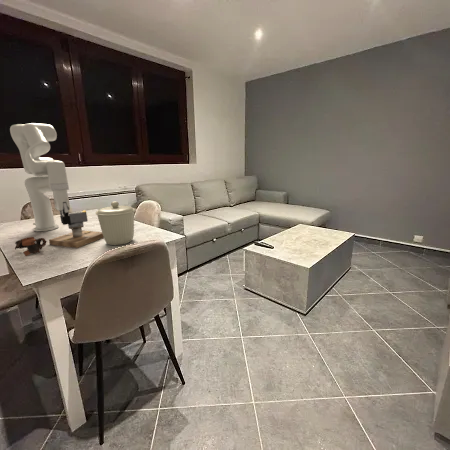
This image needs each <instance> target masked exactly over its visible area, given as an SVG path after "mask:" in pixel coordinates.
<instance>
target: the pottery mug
mask: <svg viewBox="0 0 450 450" xmlns="http://www.w3.org/2000/svg"><path fill="white" fill-rule="evenodd" d="M41 242H42V243H41ZM14 244H15V247H14V250H17V249H27V250H24V251H23V254H24V256H25V257H27V256H30V255H34V254H38V253H40V250H42V249H43V247H45V246H46V244H47V240H46V238H44V237H39V238H37V239H36V238H35V237H34V236H28V237H24V238H21V239H18V240H17V241H16V242H15V243H14Z"/></svg>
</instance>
